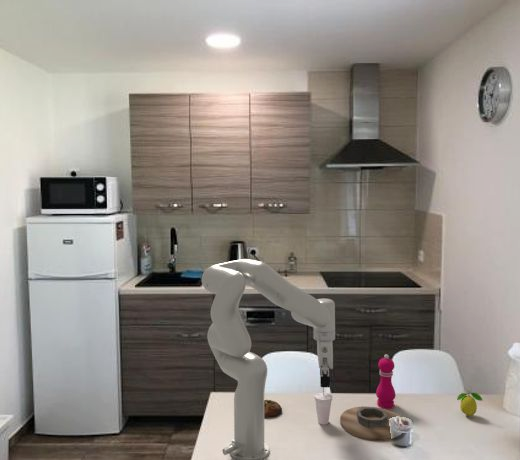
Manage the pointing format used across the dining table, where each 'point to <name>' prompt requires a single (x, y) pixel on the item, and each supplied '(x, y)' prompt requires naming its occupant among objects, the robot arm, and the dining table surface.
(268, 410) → the bread roll
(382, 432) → the carrier plate
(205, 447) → the dining table surface
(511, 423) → the dining table surface
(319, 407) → the smoothie
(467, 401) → the lemon
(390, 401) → the pepper mill
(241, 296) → the robot arm
